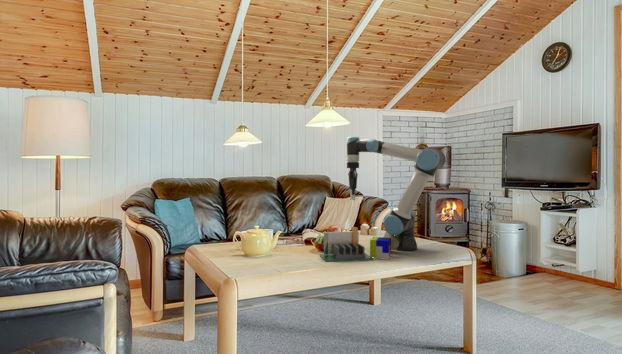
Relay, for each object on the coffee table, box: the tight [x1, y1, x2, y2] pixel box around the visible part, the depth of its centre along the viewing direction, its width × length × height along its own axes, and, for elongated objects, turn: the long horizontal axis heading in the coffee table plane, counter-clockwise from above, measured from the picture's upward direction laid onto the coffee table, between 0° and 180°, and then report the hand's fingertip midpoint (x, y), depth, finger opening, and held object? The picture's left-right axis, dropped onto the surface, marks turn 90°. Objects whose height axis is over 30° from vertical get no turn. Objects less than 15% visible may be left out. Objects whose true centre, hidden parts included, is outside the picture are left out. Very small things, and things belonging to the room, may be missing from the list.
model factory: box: [319, 226, 374, 263], centre depth 227 cm, size 26×15×16 cm, turn 100°
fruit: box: [382, 231, 399, 251], centre depth 244 cm, size 10×9×12 cm
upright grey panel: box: [323, 231, 360, 254], centre depth 232 cm, size 20×2×12 cm, turn 99°
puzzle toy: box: [369, 236, 392, 260], centre depth 231 cm, size 10×10×10 cm
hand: (352, 199), depth 257 cm, fingers closed
